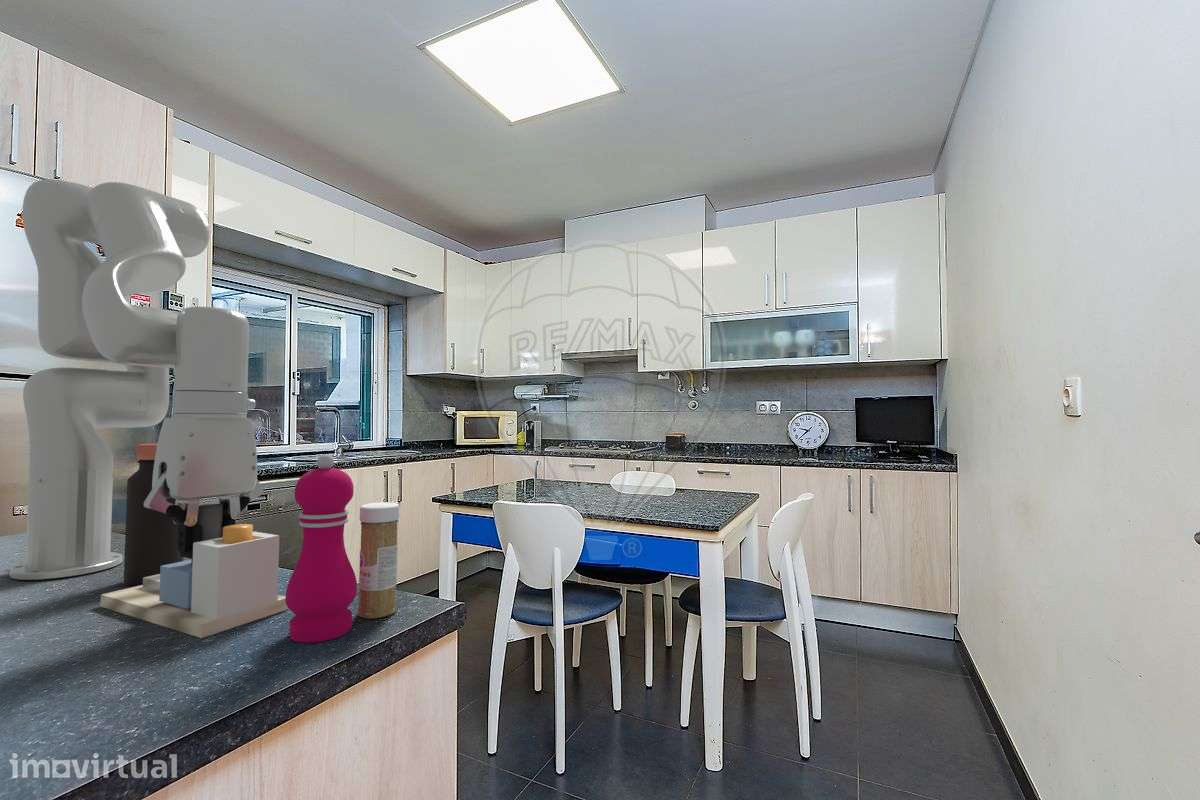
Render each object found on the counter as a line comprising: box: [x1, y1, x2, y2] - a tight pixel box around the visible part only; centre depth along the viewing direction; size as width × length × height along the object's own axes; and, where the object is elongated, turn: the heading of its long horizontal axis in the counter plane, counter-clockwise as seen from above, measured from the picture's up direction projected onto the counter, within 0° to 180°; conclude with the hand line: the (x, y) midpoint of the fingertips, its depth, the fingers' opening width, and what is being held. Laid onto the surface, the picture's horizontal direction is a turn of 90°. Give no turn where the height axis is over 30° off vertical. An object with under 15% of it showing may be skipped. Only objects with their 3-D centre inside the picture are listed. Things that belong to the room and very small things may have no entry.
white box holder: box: [191, 531, 280, 620], centre depth 65 cm, size 5×7×8 cm
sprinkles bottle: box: [356, 501, 400, 620], centre depth 67 cm, size 5×5×13 cm
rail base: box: [100, 574, 290, 639], centre depth 68 cm, size 22×10×3 cm, turn 64°
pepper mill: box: [285, 453, 358, 644], centre depth 61 cm, size 7×7×20 cm
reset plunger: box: [222, 523, 254, 544], centre depth 65 cm, size 3×3×4 cm
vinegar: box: [123, 443, 185, 587], centre depth 80 cm, size 7×7×20 cm
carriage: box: [159, 503, 223, 609], centre depth 67 cm, size 6×7×11 cm
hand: (206, 552), depth 67 cm, fingers closed on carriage, 3 cm apart
